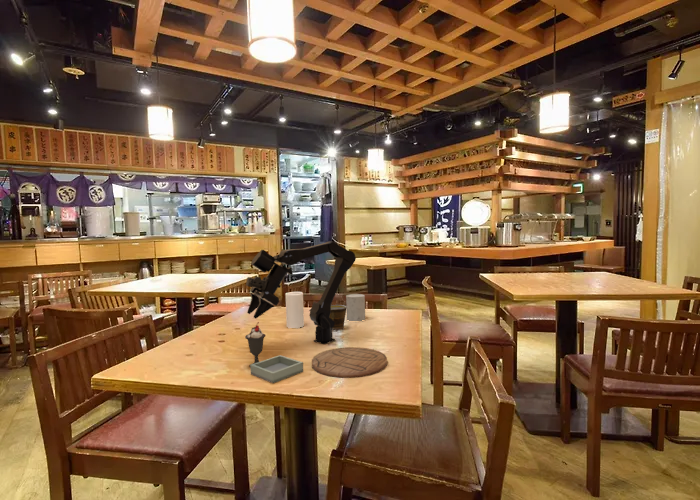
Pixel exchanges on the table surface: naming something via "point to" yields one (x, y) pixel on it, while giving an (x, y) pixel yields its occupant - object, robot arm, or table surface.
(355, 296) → the grey stone cylinder
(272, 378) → the grey square tray
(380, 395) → the table surface
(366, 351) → the trivet
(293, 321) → the cup
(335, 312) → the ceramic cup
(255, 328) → the sundae
